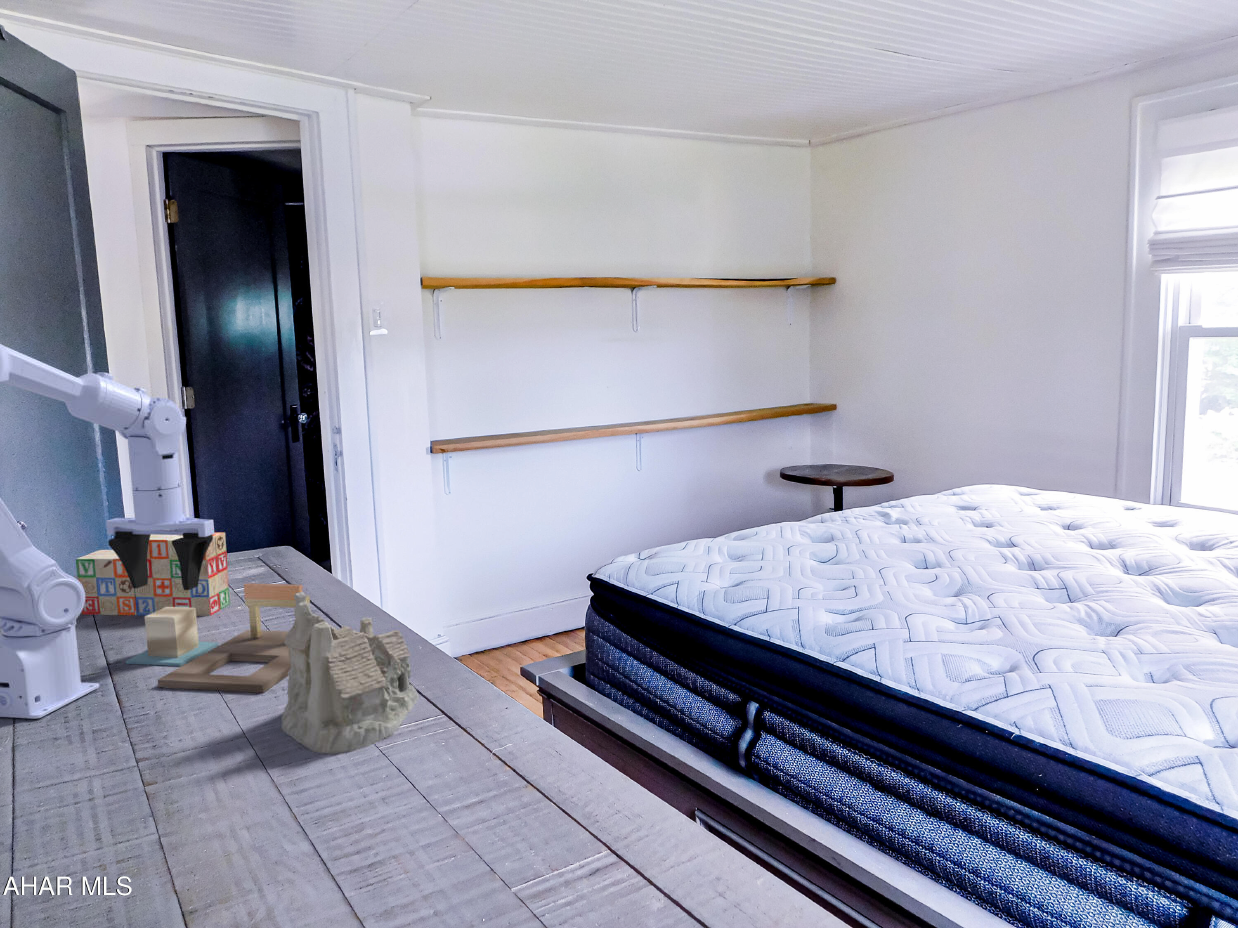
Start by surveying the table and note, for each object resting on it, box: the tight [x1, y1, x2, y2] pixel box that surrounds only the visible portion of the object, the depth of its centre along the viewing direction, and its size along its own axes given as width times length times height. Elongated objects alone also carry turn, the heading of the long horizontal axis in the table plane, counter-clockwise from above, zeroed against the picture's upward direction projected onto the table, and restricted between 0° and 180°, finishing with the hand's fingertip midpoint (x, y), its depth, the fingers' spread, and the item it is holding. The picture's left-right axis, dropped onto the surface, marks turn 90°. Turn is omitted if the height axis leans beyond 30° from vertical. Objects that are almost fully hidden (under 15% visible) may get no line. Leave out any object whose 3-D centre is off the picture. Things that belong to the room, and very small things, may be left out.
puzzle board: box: [157, 629, 291, 694], centre depth 114 cm, size 19×14×1 cm
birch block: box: [144, 607, 199, 658], centre depth 118 cm, size 4×4×6 cm
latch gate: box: [243, 582, 311, 637], centre depth 120 cm, size 2×8×8 cm, turn 81°
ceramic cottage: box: [280, 592, 419, 755], centre depth 97 cm, size 16×16×15 cm
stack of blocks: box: [75, 531, 231, 617], centre depth 138 cm, size 21×6×12 cm, turn 87°
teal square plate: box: [125, 641, 219, 667], centre depth 118 cm, size 8×8×1 cm
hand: (165, 587), depth 117 cm, fingers open, 7 cm apart
